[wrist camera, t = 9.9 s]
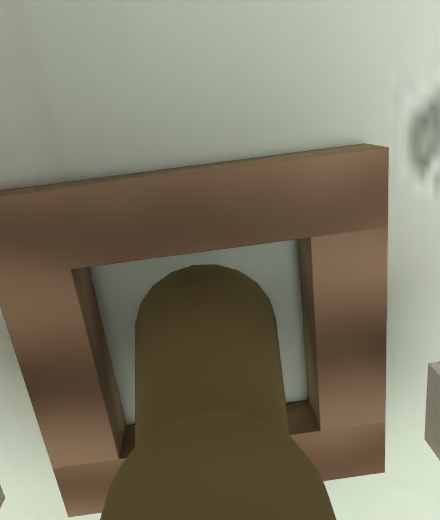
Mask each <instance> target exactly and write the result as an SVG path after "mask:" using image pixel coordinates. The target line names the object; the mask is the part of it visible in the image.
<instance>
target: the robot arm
mask: <svg viewBox="0 0 440 520" xmlns="http://www.w3.org/2000/svg"><path fill="white" fill-rule="evenodd" d="M425 440H426V442H427V443H428V444H429V446H430V447H431V449H432V450H433V451H434V453H435V454H436V456H437V457H438V458H439V460H440V362H435V363H428V380H427V400H426V419H425ZM4 499H5V496H4V493H3V491H2V488H1V486H0V508H1V505H2V503H3V501H4Z"/></svg>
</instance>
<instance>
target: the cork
mask: <svg viewBox="0 0 440 520" xmlns="http://www.w3.org/2000/svg"><path fill="white" fill-rule="evenodd" d="M100 520H336V517H335V514H334V511H333V508H332V505H331V502H330V499H329V496H328V493H327V491H326V488H325V485H324V483H323V480H322V477H321V475H320V472H319V471H318V470H317V468H316V467H315V465H314V464H313V463H312V461H311V460H310V459H309V457H308V456H307V455H306V453H305V452H304V451H303V450H302V449H301V448H300V447H299V445H298V444H297V443H296V442H295V441H294V440H293V438H292V437H291V436H290V435H289V428H288V419H287V411H286V402H285V394H284V385H283V377H282V368H281V360H280V351H279V342H278V334H277V325H276V318H275V315H274V311H273V308H272V305H271V302H270V299H269V298H268V297H267V295H266V294H265V293H264V291H263V290H262V289H261V288H260V286H259V285H258V284H257V283H256V282H255V281H253V280H252V279H250V278H249V277H247V276H246V275H244V274H243V273H241V272H240V271H237V270H234V269H230V268H227V267H223V266H219V265H193V266H190V267H187V268H184V269H181V270H178V271H175V272H172V273H170V274H169V275H167V276H166V277H165V278H163V279H162V280H161V281H159V282H158V283H157V284H155V285H154V286H153V287H152V288H151V290H150V291H149V293H148V294H147V295H146V297H145V298H144V300H143V301H142V302H141V305H140V308H139V312H138V315H137V319H136V322H135V448H134V449H133V451H132V452H131V453H130V454H129V456H128V457H127V458H126V460H125V461H124V462H123V463H122V465H121V466H120V468H119V470H118V472H117V473H116V475H115V477H114V479H113V481H112V482H111V484H110V487H109V491H108V494H107V497H106V501H105V504H104V508H103V511H102V515H101V519H100Z"/></svg>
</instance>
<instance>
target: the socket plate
mask: <svg viewBox="0 0 440 520" xmlns="http://www.w3.org/2000/svg"><path fill="white" fill-rule="evenodd" d="M388 158H389V147H383V146H377V145H371V144H359V145H351V146H343V147H335V148H328V149H320V150H312V151H304V152H297V153H289V154H281V155H273V156H266V157H258V158H250V159H242V160H235V161H227V162H219V163H212V164H204V165H196V166H188V167H181V168H173V169H165V170H157V171H150V172H142V173H134V174H126V175H119V176H111V177H103V178H95V179H88V180H80V181H72V182H64V183H57V184H49V185H41V186H33V187H26V188H18V189H10V190H3V191H0V307H1V310H2V313H3V316H4V319H5V322H6V325H7V328H8V331H9V334H10V337H11V341H12V344H13V347H14V350H15V353H16V356H17V359H18V362H19V365H20V368H21V372H22V375H23V378H24V381H25V384H26V387H27V390H28V393H29V396H30V399H31V403H32V406H33V409H34V412H35V415H36V418H37V421H38V424H39V427H40V430H41V433H42V437H43V440H44V443H45V446H46V449H47V452H48V455H49V458H50V461H51V464H52V468H53V471H54V474H55V477H56V480H57V483H58V486H59V489H60V492H61V495H62V499H63V502H64V505H65V508H66V511H67V514H68V517H73V516H81V515H88V514H95V513H102V511H103V508H104V504H105V501H106V497H107V494H108V491H109V487H110V484H111V482H112V481H113V479H114V477H115V475H116V473H117V472H118V470H119V468H120V466H121V465H122V463H123V462H124V461H125V460H126V458H127V457H128V456H129V454H130V453H131V452H132V451H133V449H134V448H135V425H128V426H126V423H125V419H124V415H123V411H122V407H121V402H120V398H119V394H118V390H117V386H116V381H115V377H114V373H113V369H112V365H111V361H110V356H109V352H108V348H107V344H106V340H105V335H104V331H103V327H102V323H101V319H100V314H99V310H98V306H97V302H96V298H95V293H94V289H93V285H92V281H91V277H90V273H89V268H88V267H91V266H98V265H106V264H113V263H121V262H129V261H136V260H144V259H151V258H159V257H166V256H174V255H181V254H189V253H196V252H204V251H212V250H219V249H227V248H234V247H242V246H249V245H257V244H264V243H272V242H279V241H287V240H295V239H299V254H300V270H301V287H302V303H303V320H304V336H305V353H306V369H307V386H308V401H301V402H293V403H286V411H287V419H288V428H289V435H290V436H291V437H292V438H293V440H294V441H295V442H296V443H297V444H298V445H299V447H300V448H301V449H302V450H303V451H304V452H305V453H306V455H307V456H308V457H309V459H310V460H311V461H312V463H313V464H314V465H315V467H316V468H317V470H318V471H319V472H320V475H321V477H322V480H323V481H327V480H334V479H341V478H348V477H355V476H362V475H369V474H376V473H383V472H385V401H386V320H387V239H388Z"/></svg>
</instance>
